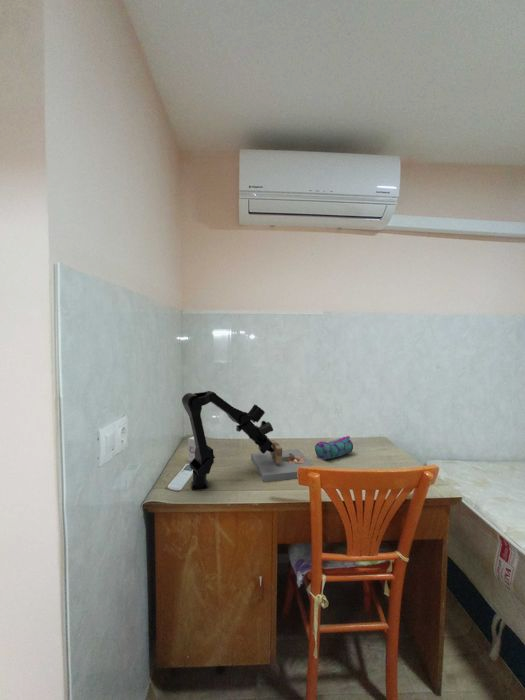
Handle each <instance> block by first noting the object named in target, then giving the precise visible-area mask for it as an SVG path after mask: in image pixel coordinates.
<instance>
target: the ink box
mask: <svg viewBox="0 0 525 700" xmlns="http://www.w3.org/2000/svg"><path fill="white" fill-rule="evenodd" d="M207 436H208V435H207V434H205V438H206V443H207ZM187 440H188V446H187V447H188V448H187V449H188V451H187V452H188V453H187V454H188V456H187V458H188V462H190V463H191V462H192V460H193V459H194V458H195V449H196V445H195V440H194V436H191V437H189V438H188V439H187Z"/></svg>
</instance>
